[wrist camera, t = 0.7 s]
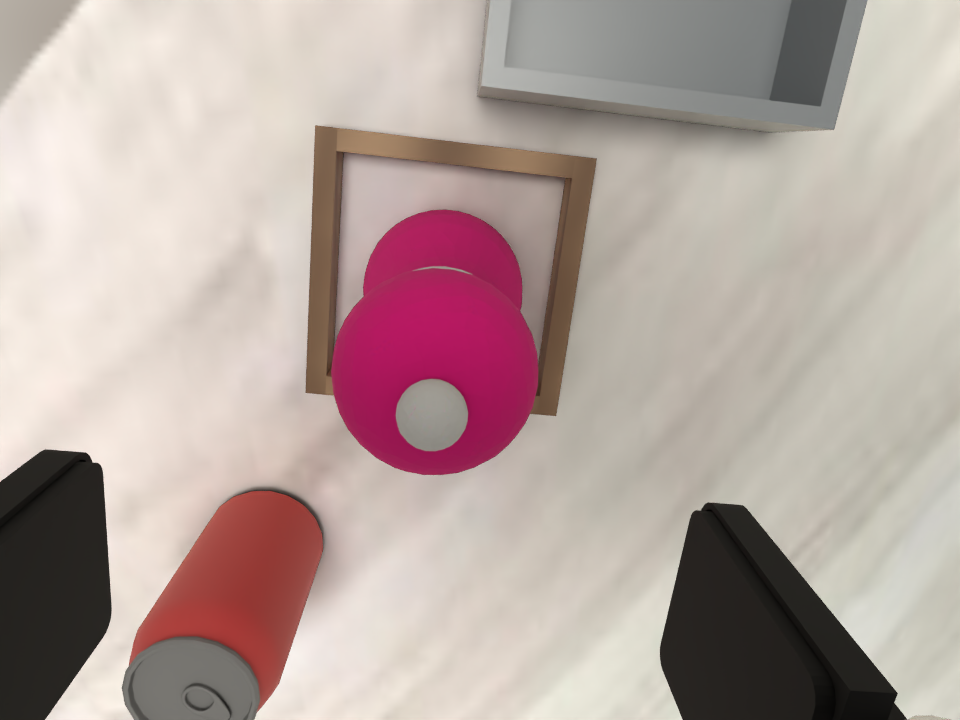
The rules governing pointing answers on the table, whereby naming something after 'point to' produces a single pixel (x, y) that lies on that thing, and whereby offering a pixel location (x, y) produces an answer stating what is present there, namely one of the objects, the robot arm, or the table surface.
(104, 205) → the table surface
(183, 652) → the beer can
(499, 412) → the pepper mill
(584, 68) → the bin
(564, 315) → the brown wooden picture frame
